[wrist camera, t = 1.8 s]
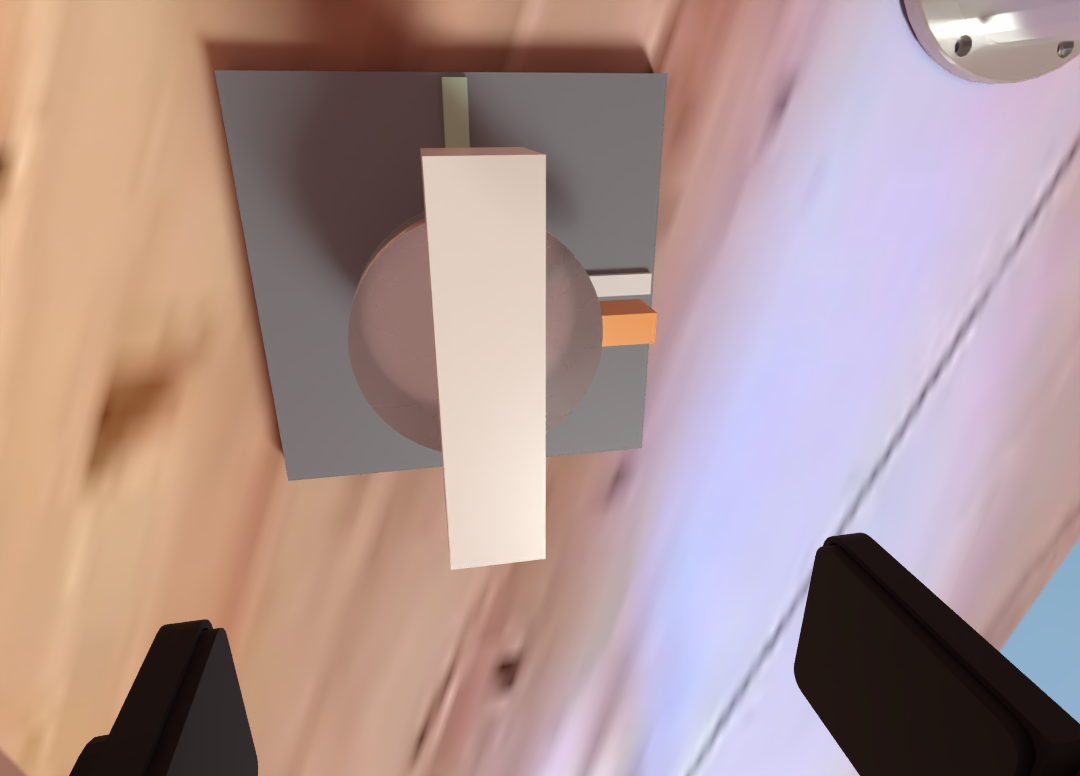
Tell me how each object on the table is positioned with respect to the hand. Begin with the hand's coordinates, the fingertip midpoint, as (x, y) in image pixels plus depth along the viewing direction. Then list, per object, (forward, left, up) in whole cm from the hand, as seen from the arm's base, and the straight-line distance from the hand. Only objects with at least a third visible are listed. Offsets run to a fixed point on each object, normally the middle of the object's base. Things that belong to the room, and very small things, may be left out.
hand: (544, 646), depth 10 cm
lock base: (0, 0, -23) cm, 23 cm away
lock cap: (-1, 0, -17) cm, 17 cm away
